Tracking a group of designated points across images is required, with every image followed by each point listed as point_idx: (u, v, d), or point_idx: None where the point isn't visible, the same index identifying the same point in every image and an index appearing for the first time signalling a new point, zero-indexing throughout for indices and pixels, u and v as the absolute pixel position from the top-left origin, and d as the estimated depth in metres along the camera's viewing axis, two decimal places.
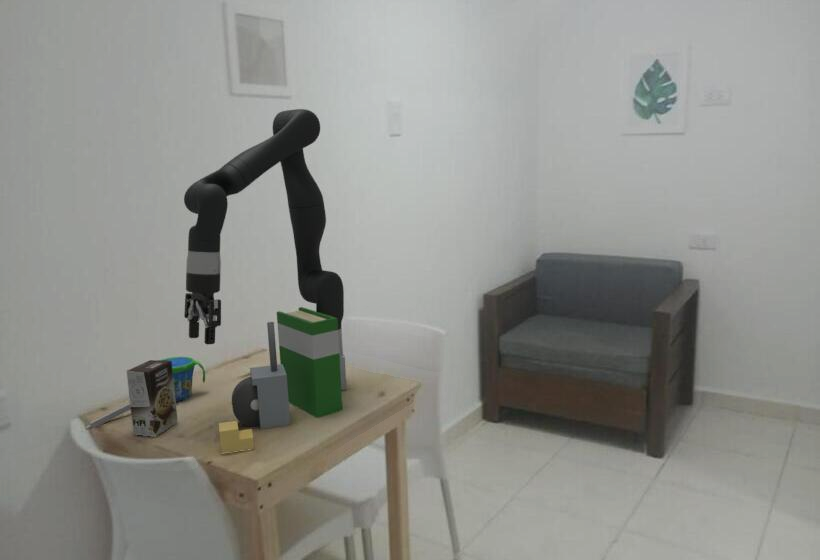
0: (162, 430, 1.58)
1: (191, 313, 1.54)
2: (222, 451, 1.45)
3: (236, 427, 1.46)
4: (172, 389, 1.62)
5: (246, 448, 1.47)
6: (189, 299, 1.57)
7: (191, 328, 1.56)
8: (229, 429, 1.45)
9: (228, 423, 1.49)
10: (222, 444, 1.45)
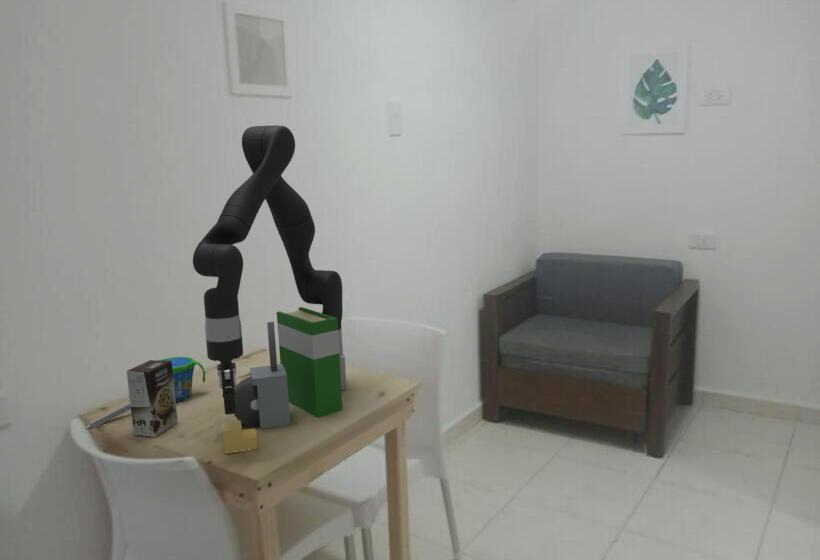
0: (162, 430, 1.58)
1: None
2: (225, 450, 1.45)
3: (239, 426, 1.47)
4: (172, 389, 1.62)
5: (249, 447, 1.47)
6: None
7: (224, 391, 1.50)
8: (232, 428, 1.46)
9: (231, 422, 1.49)
10: (225, 443, 1.45)
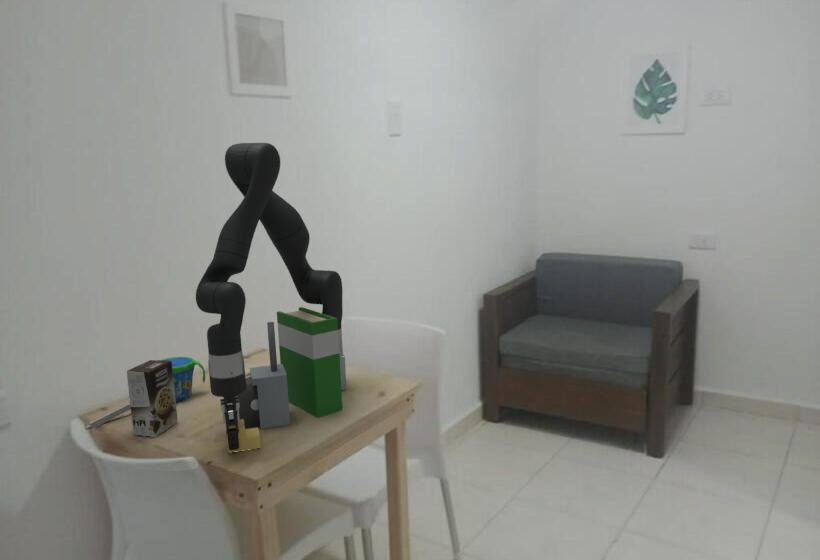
0: (162, 430, 1.58)
1: None
2: None
3: (243, 425, 1.47)
4: (172, 389, 1.62)
5: (253, 446, 1.47)
6: None
7: None
8: None
9: None
10: None
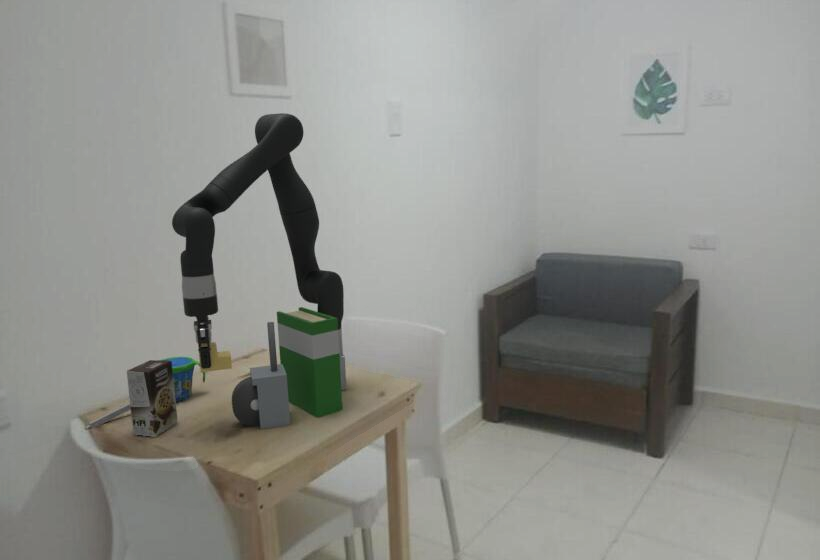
0: (162, 430, 1.58)
1: None
2: (201, 368, 1.54)
3: (214, 346, 1.55)
4: (172, 389, 1.62)
5: (224, 366, 1.55)
6: None
7: None
8: None
9: None
10: None
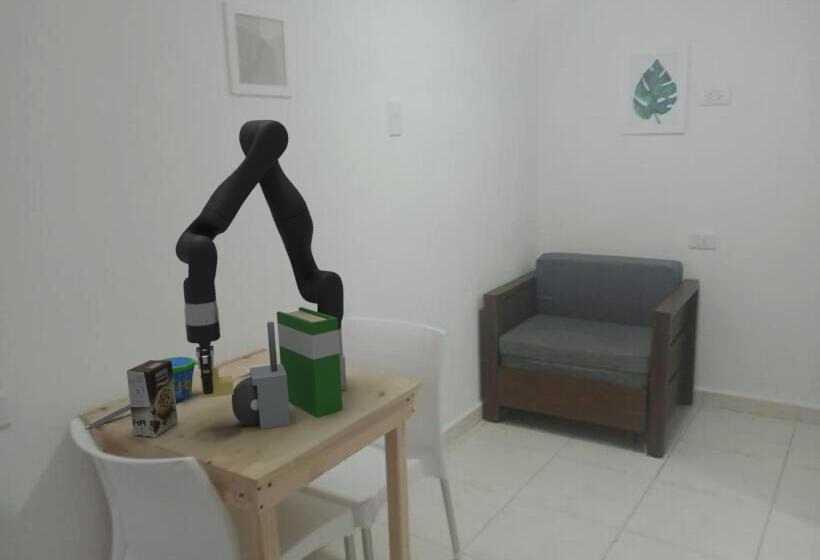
0: (162, 430, 1.58)
1: None
2: (203, 394, 1.55)
3: (217, 372, 1.56)
4: (172, 389, 1.62)
5: (226, 392, 1.56)
6: None
7: None
8: None
9: None
10: None
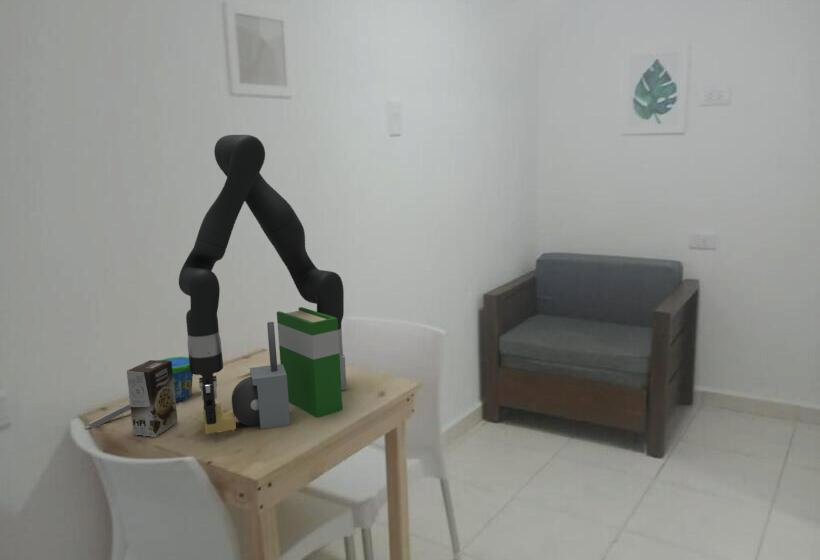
0: (162, 430, 1.58)
1: None
2: (206, 431, 1.56)
3: (219, 409, 1.58)
4: (172, 389, 1.62)
5: (228, 428, 1.58)
6: None
7: (207, 403, 1.62)
8: None
9: None
10: (206, 424, 1.56)
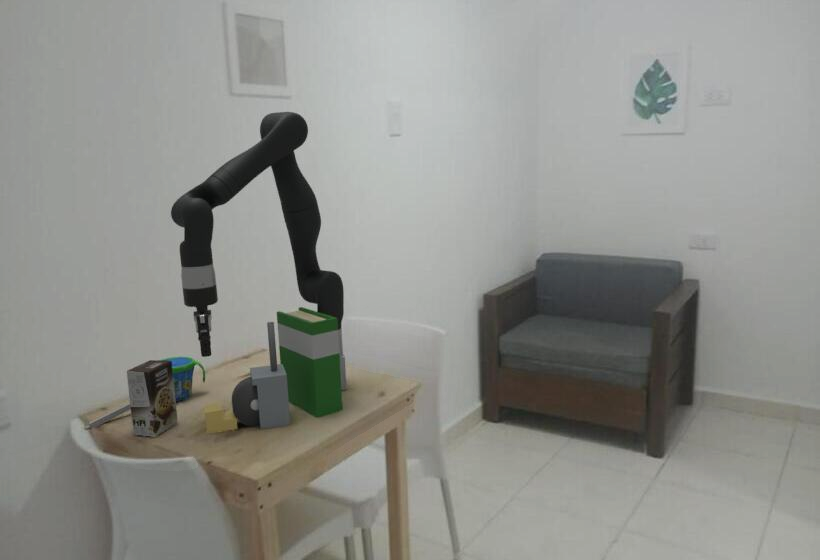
0: (162, 430, 1.58)
1: None
2: (207, 431, 1.57)
3: (220, 408, 1.58)
4: (172, 389, 1.62)
5: (230, 428, 1.58)
6: None
7: None
8: (214, 410, 1.57)
9: (213, 405, 1.60)
10: (207, 424, 1.56)
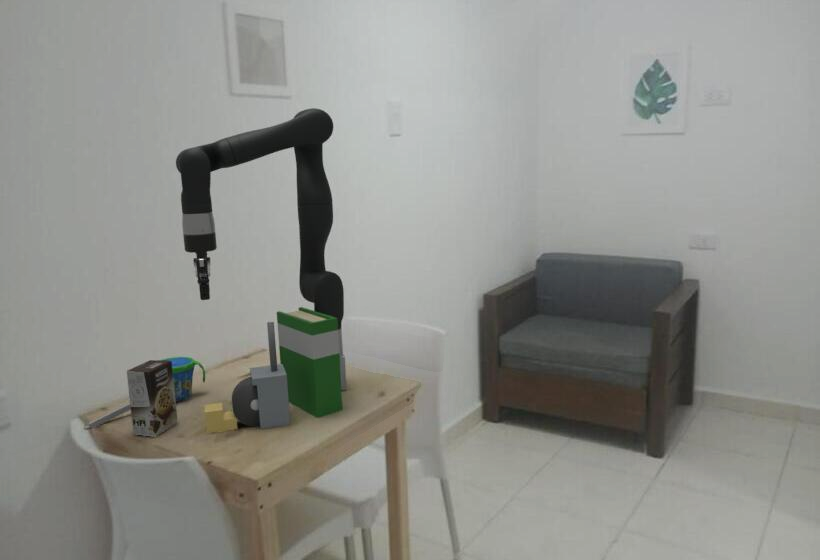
0: (162, 430, 1.58)
1: None
2: (207, 430, 1.57)
3: (220, 408, 1.58)
4: (172, 389, 1.62)
5: (230, 428, 1.58)
6: None
7: None
8: (214, 410, 1.57)
9: (213, 405, 1.60)
10: (207, 424, 1.56)
